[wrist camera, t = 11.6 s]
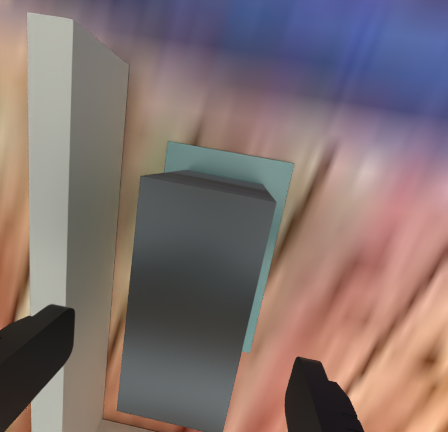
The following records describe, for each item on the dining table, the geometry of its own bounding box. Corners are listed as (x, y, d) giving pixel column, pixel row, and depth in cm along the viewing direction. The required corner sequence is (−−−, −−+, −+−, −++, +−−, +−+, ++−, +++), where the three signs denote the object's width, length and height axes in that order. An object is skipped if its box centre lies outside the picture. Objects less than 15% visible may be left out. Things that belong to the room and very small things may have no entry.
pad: (147, 328, 19) (145, 330, 19) (169, 141, 16) (167, 141, 15) (249, 349, 19) (249, 352, 18) (293, 163, 15) (294, 163, 15)
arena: (79, 431, 22) (32, 508, 17) (97, 60, 15) (27, 12, 10) (410, 509, 21) (461, 617, 16) (594, 141, 14) (785, 131, 9)
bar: (186, 169, 16) (140, 176, 9) (263, 184, 16) (276, 202, 9) (164, 317, 18) (116, 410, 11) (230, 332, 18) (221, 435, 11)
